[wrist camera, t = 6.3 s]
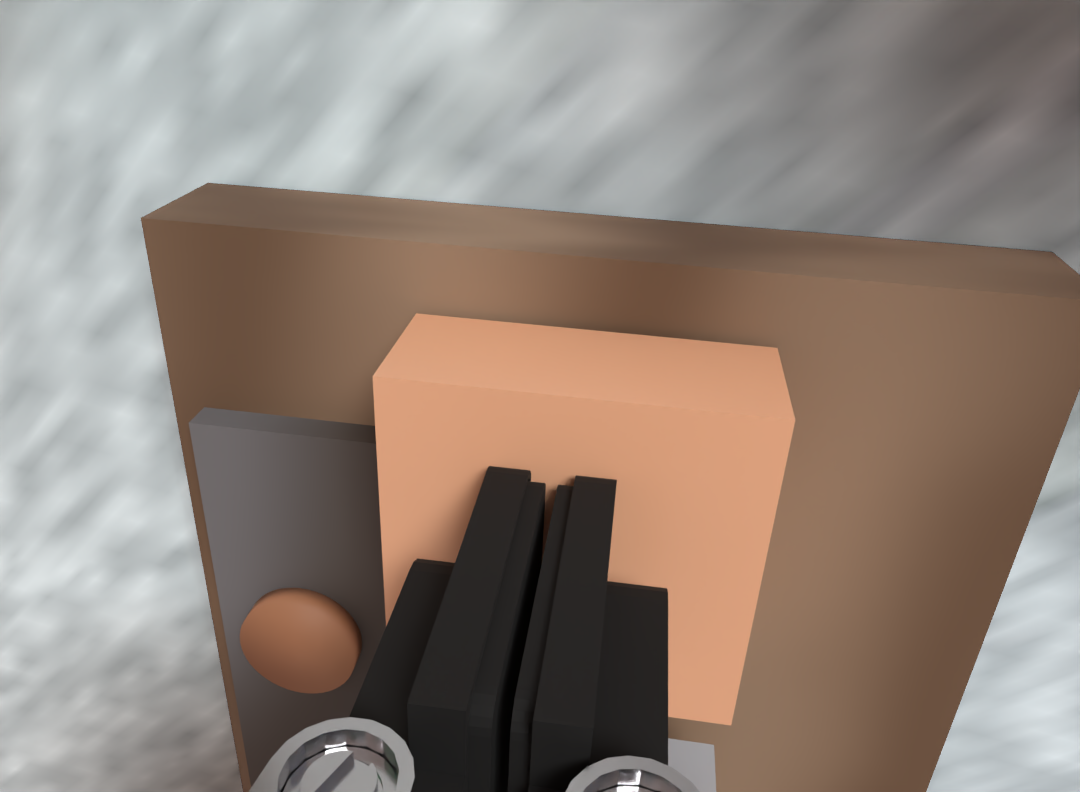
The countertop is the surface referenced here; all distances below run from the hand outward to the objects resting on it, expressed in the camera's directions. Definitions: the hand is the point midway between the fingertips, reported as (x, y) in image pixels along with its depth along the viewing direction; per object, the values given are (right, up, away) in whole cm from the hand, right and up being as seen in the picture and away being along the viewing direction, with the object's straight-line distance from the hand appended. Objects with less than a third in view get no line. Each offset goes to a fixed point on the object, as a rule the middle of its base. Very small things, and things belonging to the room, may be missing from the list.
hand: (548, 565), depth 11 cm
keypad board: (+1, -4, +7) cm, 8 cm away
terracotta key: (0, +1, +2) cm, 2 cm away
